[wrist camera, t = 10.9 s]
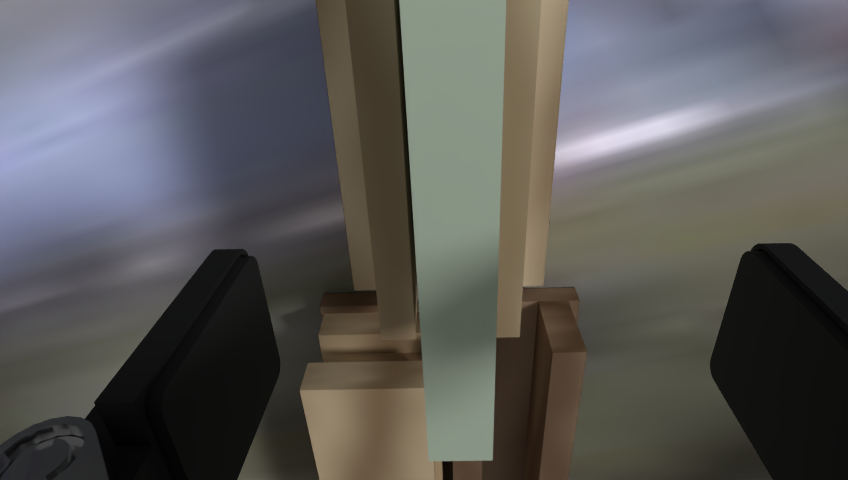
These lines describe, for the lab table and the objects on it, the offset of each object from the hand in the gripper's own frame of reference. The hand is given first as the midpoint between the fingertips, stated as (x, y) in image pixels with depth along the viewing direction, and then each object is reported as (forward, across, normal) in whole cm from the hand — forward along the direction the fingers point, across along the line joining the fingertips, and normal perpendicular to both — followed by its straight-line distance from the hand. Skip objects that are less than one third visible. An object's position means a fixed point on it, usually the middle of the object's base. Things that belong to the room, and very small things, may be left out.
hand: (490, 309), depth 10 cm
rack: (+16, +1, +21) cm, 26 cm away
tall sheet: (+14, +1, 0) cm, 14 cm away
